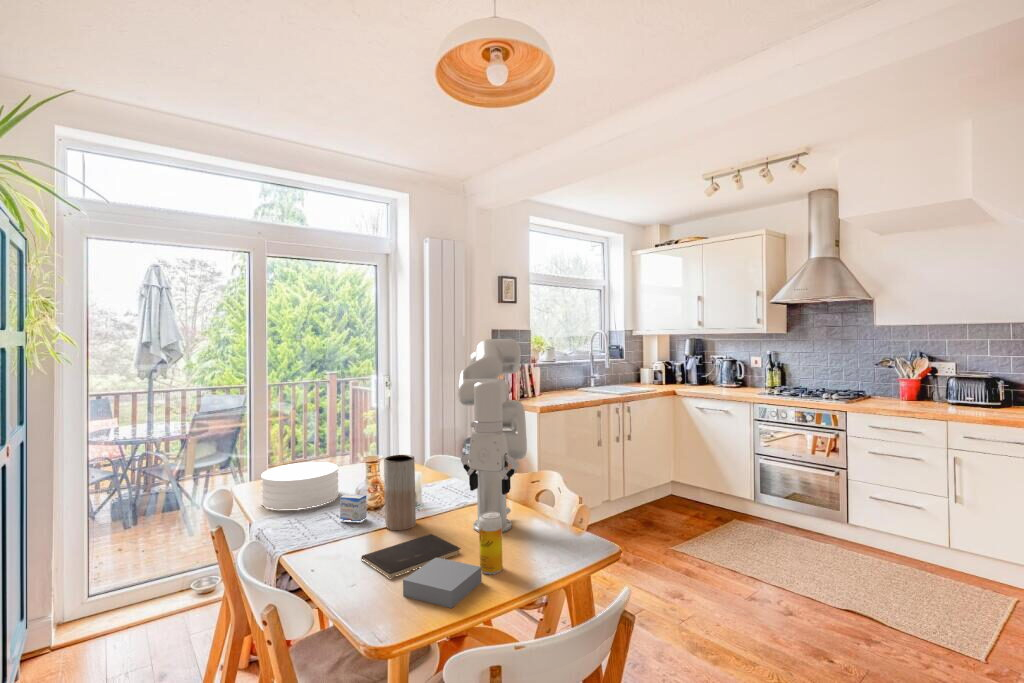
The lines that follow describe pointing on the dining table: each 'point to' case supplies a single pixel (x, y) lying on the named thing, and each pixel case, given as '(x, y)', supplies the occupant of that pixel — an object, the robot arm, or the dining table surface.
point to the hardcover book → (410, 554)
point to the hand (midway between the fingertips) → (489, 491)
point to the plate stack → (299, 485)
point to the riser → (442, 582)
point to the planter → (399, 492)
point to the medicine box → (353, 507)
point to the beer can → (490, 542)
